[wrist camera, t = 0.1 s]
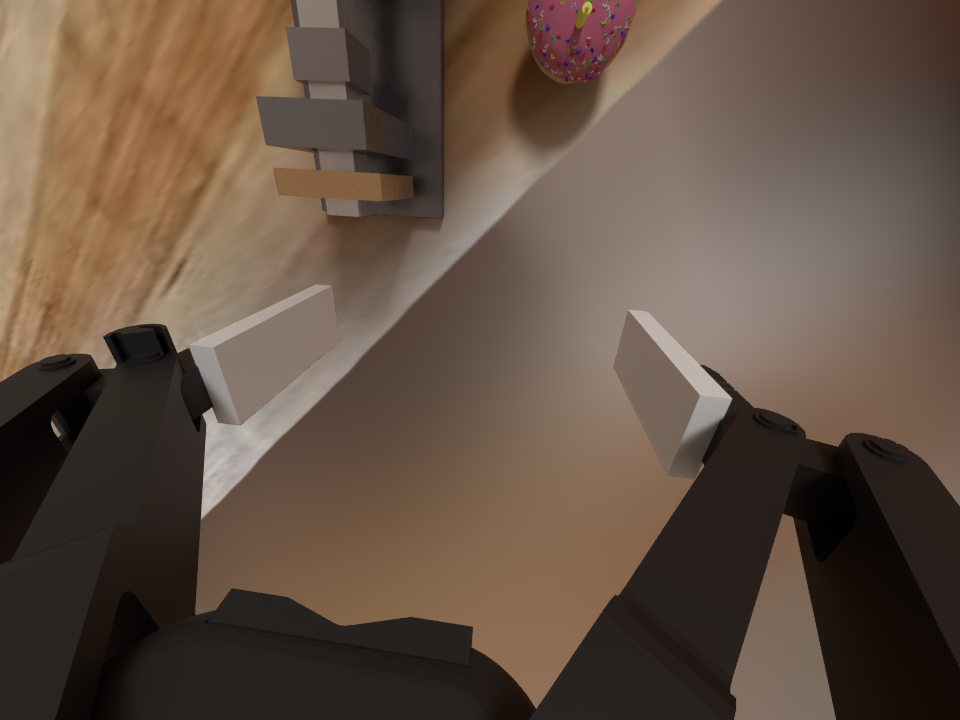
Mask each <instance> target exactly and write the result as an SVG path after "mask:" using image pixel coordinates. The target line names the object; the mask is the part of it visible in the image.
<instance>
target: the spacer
mask: <svg viewBox="0 0 960 720" xmlns="http://www.w3.org/2000/svg"><path fill="white" fill-rule="evenodd" d="M273 170H274V175H275V180H276V185H277V190H278V195H285V196H302V197H318V198H335V199H351V200H368V201H390V200H399V199H409V198H414V192H413V176H402V175H391V174H379V173H360V172H341V171H323V170H304V169H285V168H273Z"/></svg>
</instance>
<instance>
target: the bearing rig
mask: <svg viewBox="0 0 960 720" xmlns="http://www.w3.org/2000/svg"><path fill="white" fill-rule="evenodd" d="M353 2H354V13H355V24H356V35H357V40H359V41H360V42H361V43H362V44H363V45H364V46H365V47H366V48H368V49H369V51H370V64H371V77H372V90H373V95H362V100H343V99H315V98H310V91H309V86H307V85H305V84H304V91H305V98H287V97H259V96H256V99H257V104H258V109H259V113H260V118H261V123H262V128H263V133H264V138H265V143H266V145H269V146H275V147H281V148H287V149H294V150H300V151H306V152H312V153H314V157H315V163H316V170H321V166H320V159H319V153H318V150H335V151H355V152H361V153H366V154H367V157H368V168H369V173H379V174H391V175H402V176H413V192H414V198H409V199H399V200H390V201H371V202H372V213H373V214H381V215H397V216H413V217H428V218H443V217H444V0H353ZM291 6H292V12H293V19H294V25H295V27H300V23H299V16H298V10H297V3H296V0H291ZM321 203H322V209H323V211H327V207H326V200H325V198H321Z"/></svg>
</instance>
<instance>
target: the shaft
mask: <svg viewBox="0 0 960 720" xmlns="http://www.w3.org/2000/svg"><path fill="white" fill-rule="evenodd" d="M296 3H297V10H298V16H299V23H300V27H286V31H287V38H288V44H289V50H290V56H291V62H292V69H293V75H294V80H296V81H298V82H300V83H302V84H305V85H307V86H309V91H310V98H315V99H343V100H362V95H373V90H372V77H371V64H370V51H369V49H368V48H366V47H365V46H364V45H363V44H362V43H361V42H360V41H359V40H357V35H356V24H355V13H354V2H353V0H296ZM318 153H319V159H320V166H321V170H323V171H341V172H360V173H369V168H368V157H367V154H366V153H361V152H355V151H335V150H318ZM325 200H326V207H327V214H328V215H338V216H353V217H362V216H367V215H372V214H373V213H372V202H371V201H368V200H351V199H335V198H325Z"/></svg>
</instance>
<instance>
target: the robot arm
mask: <svg viewBox="0 0 960 720" xmlns="http://www.w3.org/2000/svg"><path fill="white" fill-rule="evenodd" d="M103 338H104V340H105V341H106V343H107V345H108V347H109V349H110V351H111V353H112V355H113V357H114V359H115V361H116V363H117V365H116V367H115V368H113V369H98V367H97V365H96V364H95V362H94V360H93V358H92V357H91V355H88V354H69V355H65V354H61V355H55V356H51V357H47V358H44V359H43V360H41V361H39V362H36V363H33V364H31V365H29V366H27V367H25V368H23V369H21V370H20V371H18V372H16V373H15V374H13V375H12V376H10V377H8V378H7V379H5V380H3V381H2V382H0V720H734V717H735V712H736V698H735V697H734V696H733V695H732V694H730V686H731V682H732V678H733V674H734V671H735V668H736V665H737V661H738V658H739V655H740V652H741V648H742V645H743V642H744V639H745V635H746V632H747V629H748V625H749V622H750V619H751V616H752V612H753V609H754V606H755V602H756V599H757V596H758V593H759V589H760V586H761V583H762V580H763V576H764V573H765V570H766V566H767V563H768V560H769V557H770V553H771V550H772V547H773V543H774V540H775V537H776V533H777V530H778V527H779V524H780V520H781V517H782V514H785V515H788V516H792V517H793V519H794V523H795V528H796V533H797V537H798V542H799V546H800V552H801V556H802V561H803V565H804V570H805V575H806V579H807V584H808V589H809V594H810V599H811V603H812V608H813V612H814V617H815V622H816V627H817V631H818V636H819V641H820V645H821V650H822V655H823V660H824V664H825V669H826V674H827V678H828V683H829V688H830V693H831V697H832V702H833V707H834V711H835V716H836V720H960V506H959V505H958V503H957V502H956V501H955V499H954V498H953V497H952V495H951V494H950V493H949V492H948V491H947V489H946V488H945V486H944V485H943V484H942V482H941V481H940V480H939V478H938V477H937V476H936V475H935V473H934V472H933V470H932V469H931V468H930V467H929V465H928V464H927V463H926V462H925V461H924V460H923V459H922V458H920V457H919V456H918V455H916V454H914V453H913V452H911V451H909V450H908V449H907V448H906V447H905V446H903V445H901V444H896V442H894V441H891V440H888V439H882V438H879V437H876V436H873V435H868V434H864V433H850V434H848V435H846V436H845V438H844V439H843V440H842V442H841V444H840V445H839V446H838V447H836V446H833V445H828V444H825V443H821V442H818V441H814V440H810V439H806V434H805V431H804V430H803V429H802V428H801V427H800V426H799V425H798V424H797V423H795V422H794V421H792V420H791V419H789V418H787V417H784V416H782V415H780V414H778V413H775V412H772V411H769V410H765V409H760V408H754V407H753V406H752V405H751V404H750V403H748V402H747V401H746V400H745V399H744V398H743V397H742V396H741V395H740V394H739V393H738V392H737V391H735V390H734V388H733V387H732V386H731V385H730V384H728V383H727V382H726V381H725V380H724V378H722V376H720V375H719V374H718V373H717V372H715V371H713V370H712V369H710V368H708V367H706V366H705V365H699V364H698V363H697V362H696V361H695V360H694V359H693V358H692V357H691V356H690V355H689V354H688V353H687V352H686V351H685V350H684V349H683V348H682V347H681V346H680V345H679V344H678V343H677V342H676V341H675V340H674V339H673V338H672V336H671V335H670V334H669V333H667V331H666V330H665V329H663V327H662V326H661V325H660V324H659V323H658V322H657V321H656V320H655V319H654V318H653V317H652V316H651V315H650V314H649V313H648V312H647V311H636V310H628V313H627V316H626V320H625V324H624V328H623V332H622V336H621V339H620V343H619V347H618V351H617V355H616V359H615V362H614V366H613V367H614V369H615V371H616V373H617V375H618V377H619V379H620V381H621V383H622V385H623V387H624V390H625V392H626V394H627V396H628V397H629V400H630V402H631V403H632V406H633V408H634V410H635V412H636V414H637V416H638V418H639V420H640V422H641V424H642V426H643V428H644V430H645V432H646V434H647V436H648V438H649V440H650V442H651V444H652V446H653V448H654V450H655V452H656V454H657V456H658V458H659V460H660V463H661V465H662V466H663V469H664V470H665V473H666V475H667V476H674V477H683V478H692V479H695V477H696V475H697V473H698V471H699V469H700V467H701V464H702V462H703V464H704V468H703V469H702V471H701V472H700V474H699V475H698V477H697V478H696V480H695V481H694V483H693V484H692V486H691V487H690V489H689V490H688V492H687V493H686V495H685V497H684V498H683V500H682V501H681V503H680V504H679V506H678V507H677V509H676V510H675V512H674V513H673V515H672V516H671V518H670V519H669V521H668V522H667V524H666V525H665V527H664V528H663V530H662V532H661V533H660V534H659V536H658V537H657V539H656V540H655V542H654V544H653V545H652V547H651V548H650V550H649V551H648V553H647V554H646V556H645V557H644V559H643V560H642V562H641V563H640V565H639V566H638V568H637V569H636V571H635V572H634V574H633V576H632V577H631V579H630V580H629V581H628V583H627V585H626V586H625V587H624V589H623V590H622V592H621V593H620V594H619V595H618V596H616V595H615V596H614V597H613V598H612V599H611V600H610V602H609V603H608V604H607V606H606V607H605V609H604V610H603V611H602V613H601V614H600V616H599V617H598V619H597V620H596V622H595V623H594V625H593V626H592V628H591V629H590V631H589V632H588V633H587V635H586V636H585V638H584V640H583V641H582V642H581V644H580V645H579V647H578V648H577V650H576V651H575V653H574V654H573V656H572V657H571V659H570V660H569V662H568V663H567V665H566V666H565V668H564V669H563V671H562V672H561V674H560V675H559V677H558V678H557V679H556V681H555V682H554V684H553V685H552V687H551V688H550V690H549V691H548V693H547V695H546V696H545V697H544V699H543V700H542V702H541V703H540V705H539V706H538V708H537V709H536V708H535V706H534V705H533V703H532V702H531V700H530V699H529V697H528V696H527V694H526V693H525V692H524V691H523V689H522V688H521V687H520V686H519V685H518V683H517V682H516V681H515V680H514V679H513V678H512V677H511V676H510V675H509V674H508V673H507V672H506V671H505V670H504V669H503V668H502V667H501V666H500V665H498V664H497V663H496V662H494V661H493V660H491V659H490V658H489V657H487V656H486V655H485V654H483V653H481V652H479V651H477V650H475V649H474V648H471V647H472V633H473V627H470V626H465V625H458V624H452V623H446V622H439V621H433V620H427V619H421V618H414V617H408V618H400V619H393V620H386V621H379V622H372V623H365V624H357V625H350V626H340V625H337V624H335V623H333V622H331V621H329V620H327V619H326V618H324V617H322V616H321V615H319V614H317V613H315V612H313V611H312V610H310V609H308V608H306V607H305V606H303V605H301V604H299V603H297V602H295V601H294V600H292V599H290V598H288V597H283V596H277V595H270V594H264V593H257V592H252V591H245V590H239V589H231V590H230V591H229V593H228V594H227V596H226V597H225V598H224V600H223V601H222V603H221V604H220V605H219V607H218V608H217V609H216V610H215V611H210V612H206V613H202V614H198V615H195V604H196V587H197V571H198V553H199V538H200V521H201V505H202V488H203V471H204V455H205V438H206V422H205V420H204V417H203V415H202V414H203V413H205V412H206V411H207V410H209V409H210V408H213V410H214V413H215V415H216V418H217V421H218V423H225V424H234V425H242V424H243V423H244V422H245V421H246V420H248V419H249V418H250V417H251V416H252V415H253V414H255V413H256V412H257V411H258V410H259V409H261V408H262V407H263V406H264V405H265V404H266V403H268V402H269V401H270V400H271V399H272V398H274V397H275V396H276V395H277V394H278V393H279V392H281V391H282V390H283V389H284V388H285V387H287V386H288V385H289V384H290V383H291V382H292V381H294V380H295V379H296V378H297V377H298V376H300V375H301V374H302V373H303V372H304V371H306V370H307V369H308V368H309V367H310V366H311V365H313V364H314V363H315V362H316V361H317V360H319V359H320V358H321V357H322V356H323V355H324V354H326V353H327V352H328V351H329V350H330V349H332V348H333V347H334V346H335V345H336V344H337V343H339V342H340V336H339V330H338V323H337V317H336V311H335V304H334V298H333V291H332V286H328V285H313V286H311V287H309V288H307V289H305V290H303V291H301V292H299V293H297V294H294V295H292V296H290V297H288V298H286V299H284V300H282V301H280V302H278V303H275V304H273V305H271V306H269V307H267V308H265V309H263V310H261V311H259V312H256V313H254V314H252V315H250V316H248V317H246V318H244V319H242V320H240V321H237V322H235V323H233V324H231V325H229V326H227V327H225V328H223V329H221V330H218V331H216V332H214V333H212V334H210V335H208V336H206V337H204V338H202V339H199V340H197V341H195V342H193V343H191V344H189V345H188V346H189V348H188V349H186V350H183V351H181V352H179V353H177V351H176V349H175V346H174V344H173V341H172V339H171V336H170V334H169V332H168V329H167V327H166V326H165V325H162V324H142V325H135V326H130V327H125V328H122V329H118V330H115V331H113V332H110V333H108V334H106V335H105V336H104V337H103ZM51 420H52V422H53V423H54V425H55V426H56V428H57V429H58V431H59V432H60V434H61V435H60V436H59V437H57V436H56V434H55V433H54V431H53V429H52V426H51Z"/></svg>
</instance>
